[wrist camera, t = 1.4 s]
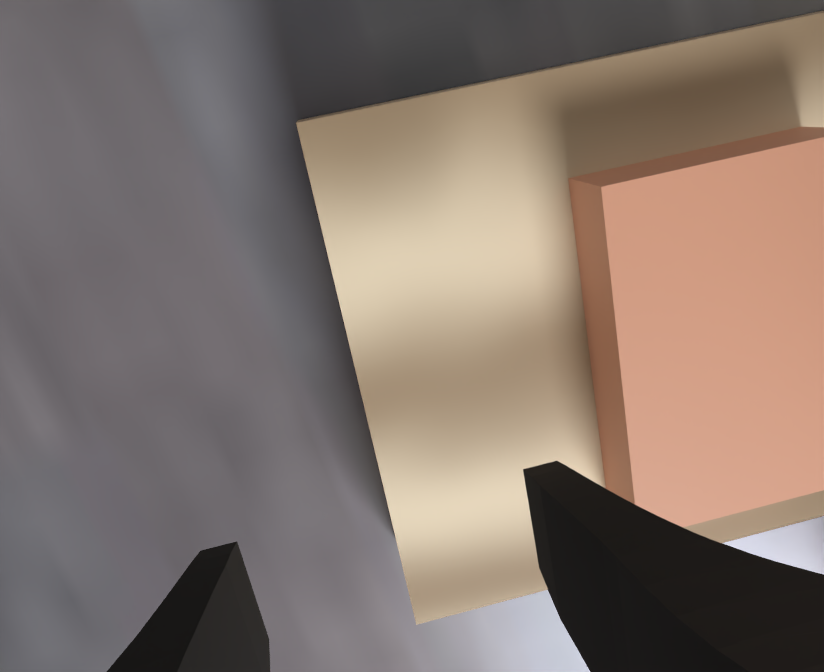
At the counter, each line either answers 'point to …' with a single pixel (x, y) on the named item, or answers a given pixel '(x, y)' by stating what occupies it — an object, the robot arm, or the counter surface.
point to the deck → (514, 278)
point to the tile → (707, 323)
